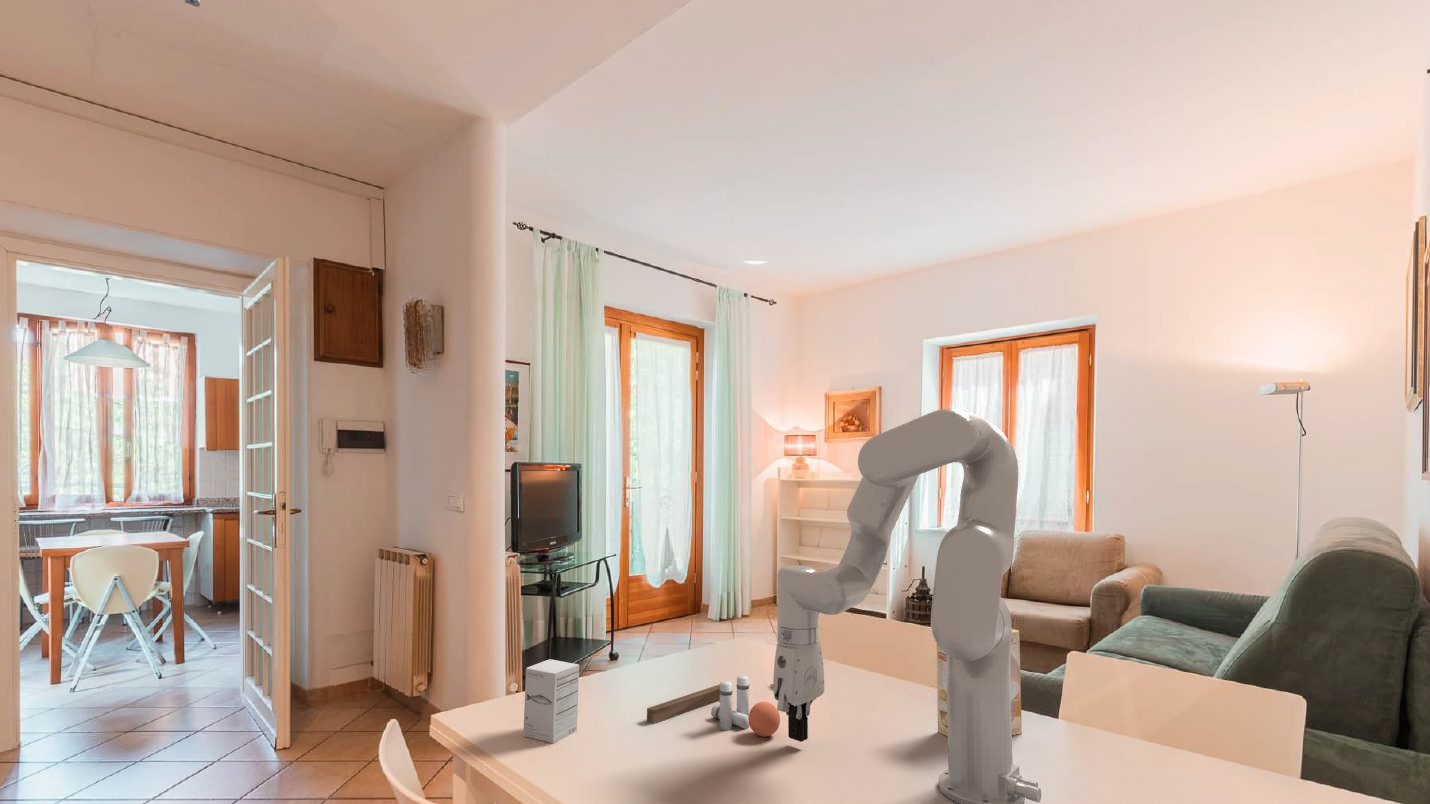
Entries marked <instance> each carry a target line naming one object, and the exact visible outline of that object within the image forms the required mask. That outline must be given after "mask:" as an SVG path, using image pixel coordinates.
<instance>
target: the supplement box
mask: <svg viewBox="0 0 1430 804" xmlns="http://www.w3.org/2000/svg"><path fill="white" fill-rule="evenodd" d="M579 678H580V664H578V663H572V662H568V661H567V662H566V661H561V660H556V659H551V658H550V659H547V660H543V661H541V662H538V663H536V664H533V665H531V666H528V667H526V668H525V682H524V683H525V684H524V685H525V686H524V687H525V688H524V689H525V690H524V710H523V711H524V712H523V733H522V735H523V737H524V738H525V737H526V738H530V739H535V740H539V741H543V742H547V743H550V744H552V745H553V744H555V743H557V742H558V741H561V740H563V739H565V738H566V736H567V737H569V736H570V734H571V735H572V734H574V733H576V732H577V730H578V714H579V712H578V711H579V709H578V707H579V706H578V705H579V683H580V682H579V681H580V679H579ZM575 731H576V732H575ZM573 732H574V733H573ZM568 735H569V736H568Z"/></svg>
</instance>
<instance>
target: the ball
mask: <svg viewBox="0 0 1430 804" xmlns="http://www.w3.org/2000/svg"><path fill="white" fill-rule="evenodd" d="M780 725H781V715H780V711H779V710H778V709H777V706H775V705H774V704H773V703H771V702H768V701H759V702H758V703H756V704H754V705H753V706H751V709H750V710H749V727H750V729H751V731H752V732H753V733H755V735H758V736H760V737H769V736H772V735H774V734H775V733H776V732H777V731H778V729H779V728H780Z"/></svg>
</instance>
